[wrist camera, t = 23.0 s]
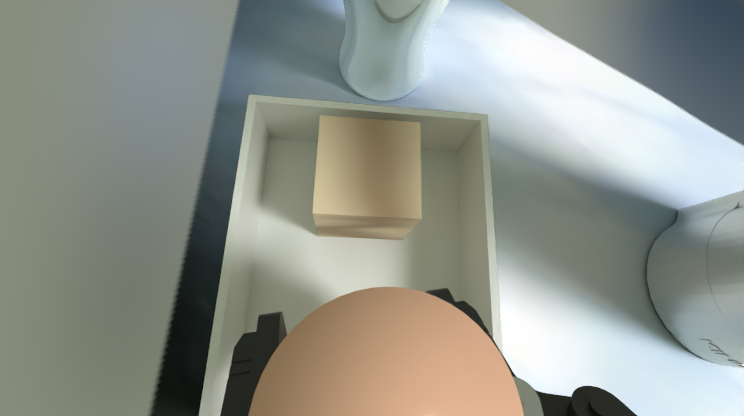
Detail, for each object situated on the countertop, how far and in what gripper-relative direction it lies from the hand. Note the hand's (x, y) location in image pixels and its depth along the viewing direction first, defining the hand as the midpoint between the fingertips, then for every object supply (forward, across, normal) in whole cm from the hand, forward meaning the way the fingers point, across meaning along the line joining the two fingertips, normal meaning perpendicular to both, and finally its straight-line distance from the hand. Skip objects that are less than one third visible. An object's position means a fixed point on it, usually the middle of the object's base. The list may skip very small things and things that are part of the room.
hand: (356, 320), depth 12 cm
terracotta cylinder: (+2, 0, +4) cm, 5 cm away
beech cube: (+10, -2, 0) cm, 10 cm away
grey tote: (+8, -1, +4) cm, 9 cm away
